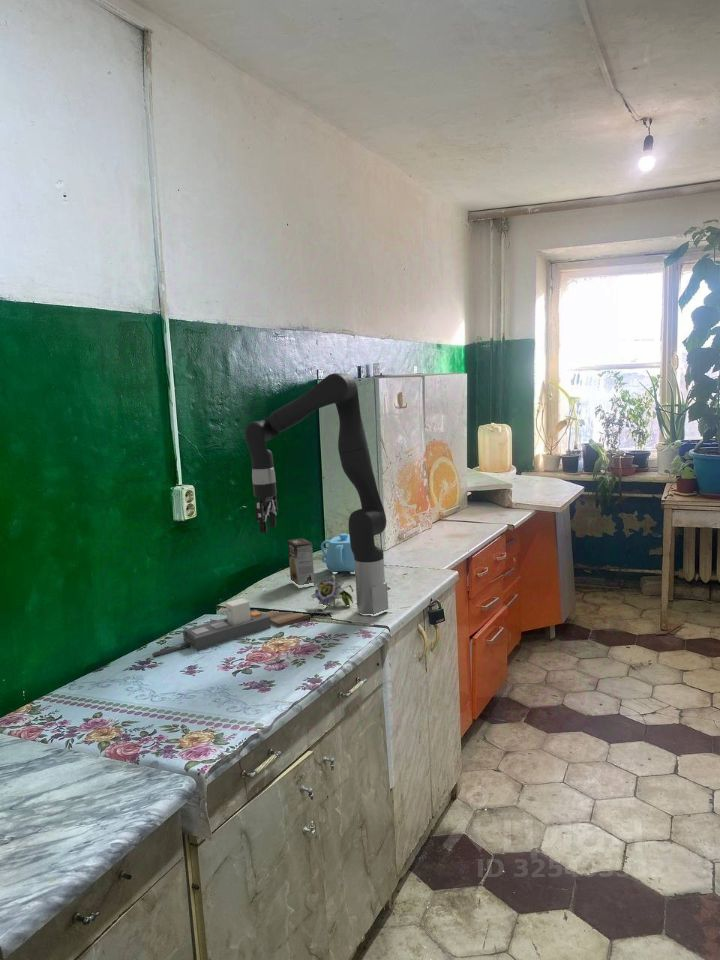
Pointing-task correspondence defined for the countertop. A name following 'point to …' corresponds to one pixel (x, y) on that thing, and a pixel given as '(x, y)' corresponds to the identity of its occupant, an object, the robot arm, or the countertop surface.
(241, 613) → the block
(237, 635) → the power strip
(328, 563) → the teapot
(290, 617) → the walnut pad
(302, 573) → the coffee box
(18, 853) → the countertop surface
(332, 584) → the passion flower
